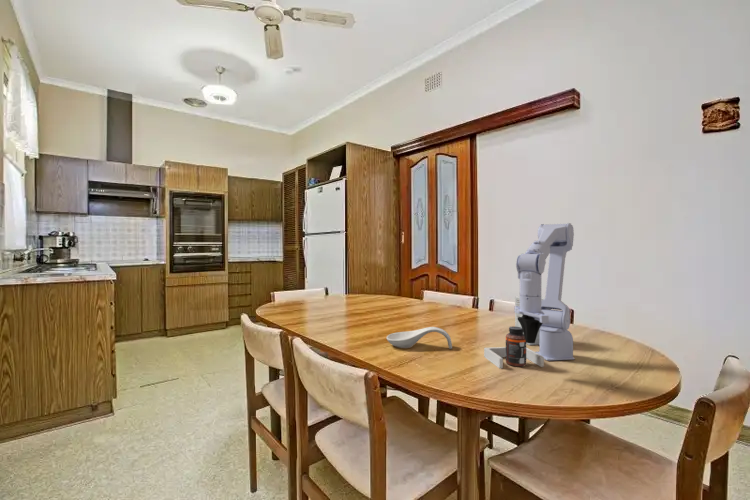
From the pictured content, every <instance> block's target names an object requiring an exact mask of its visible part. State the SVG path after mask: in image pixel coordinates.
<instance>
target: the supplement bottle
mask: <svg viewBox="0 0 750 500" xmlns="http://www.w3.org/2000/svg"><path fill="white" fill-rule="evenodd" d="M505 347H506V357H505V363H506V364H507V365H509V366H512V367H517V368H518V367H519V368H520V367H521V368H523V367H525V366H526V365H527V358H526V347H527V344H526V341H525V337H524V334H523V330H522V328H521V327H515V326H509V327H508V333H507V334H506V336H505Z"/></svg>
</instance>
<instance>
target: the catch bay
mask: <svg viewBox="0 0 750 500" xmlns="http://www.w3.org/2000/svg"><path fill="white" fill-rule="evenodd" d="M483 350H484V351H483V358H485V359H486V360H488V362H490V363H491V364H493V365H494V366H496V367H497V368H498V369H503V368H504V358H506V346H501V347H500V346H498V347H497V346H496V347H484V348H483ZM536 352H537V351H535V350H532V349H530V348H528V346H526V360H528V361H530V362H532V363H534V364H535V365H537V366H539V367H541V368H544V366H545V359H544V357H543V356H541V355H540V354H538V353H536Z"/></svg>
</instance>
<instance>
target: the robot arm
mask: <svg viewBox="0 0 750 500" xmlns="http://www.w3.org/2000/svg"><path fill="white" fill-rule="evenodd" d="M574 236H575V233H574V225H572V223H570V222H567V223H554V224H553V223H552V224H551V223H549V224H544V223H543V224H540V225H539V226H538V229H537V240H534V241H533V242H532V243H531V244H530V245H529V247H528V248H527V250H526V251H525V253H520V254H519V255H517V258H516V261H515V262H516V263H515V267H516V271H517V279H518V280H519V297H520V306H515V305H514V310H513V311H514V312H513V313H514V314H515V313H518V314H522V315H523V316H522V317H518V321H519V322H520V324H521V327H522V330H523V333H524V337H525V341H526V342H527V343H535V340H536V337H537V333H538V331H539V329H540V342H539V345H538V346H539V348H538V349H539V351H535V352H536V353H538V354H540V355H541V356H543V357H544V361H550V362H551V361H571V360H575V357H574V338H573V335H572V333H571V332H570V330H569V329H570V325H571V310H570V307H569V306H568V305H567V304H566V303H565V302H563V301H562V294H563V285H564V275H565V263H566V256H567V253H568V252H570V251H571V250H573V246H574ZM548 256H549V259H548ZM547 259H548V269H547V278H546V287H545V297H544V298H545V299H544V300H542V301H541V297H542V274H544V272H545V267H546V264H547V261H546V260H547ZM550 309H551V310H550Z"/></svg>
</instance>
